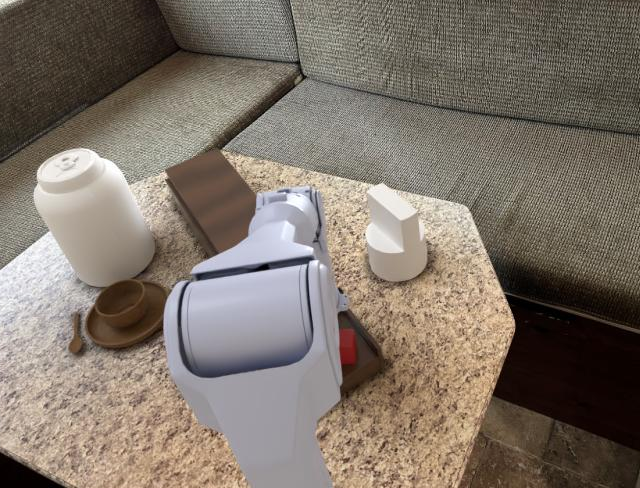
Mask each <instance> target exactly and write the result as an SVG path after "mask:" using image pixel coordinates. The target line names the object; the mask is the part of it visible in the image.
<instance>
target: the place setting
mask: <svg viewBox="0 0 640 488" xmlns="http://www.w3.org/2000/svg"><path fill="white" fill-rule="evenodd" d="M169 295H170V293H169V292H168V290H167V288H166V287H165V286H164V285H162V284H161V283H159V282H156V281H153V280H146V279H145V280H138V279H133V278H131V279H125V280H121V281H117V282H115V283H113V284H111V285H109V286H107V287H104V289H102V290H101V291H100V293H99V294H98V295H97V297H96V299H95V301H94V304H93V305H92V306H91V308H90V309H89V311H88V313H87V315H86V317H85V321H84V330H85V333H86V335H87V337H88V338H89V339H90V341H91V342H93V343H94V344H96V345H98V346H100V347H103V348H106V349H120V348H126V347H130V346H132V345H135V344H138V343H140V342H142V341H145V340H146V339H147V338H149V337H150V336H151V335H153V334H154V333H155V332H157V330H159V328H160V327H161V326H162V325H163V324H164V310H165V305H166V302H167V299H168V297H169ZM79 321H80V317H79V313H78V312H76V313H75V314H74V318H73V338H72V339H71V341H70V342H69V344H68V347H67V348H68V351H69V352H70V353H71V354H72V355H75V354H78V353H79V352H80V351H81V349H82V347H83V344H84V343H83V342H84V341H83V339H82V337H80V336H79Z"/></svg>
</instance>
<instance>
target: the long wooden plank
mask: <svg viewBox="0 0 640 488" xmlns="http://www.w3.org/2000/svg"><path fill="white" fill-rule="evenodd" d="M164 172H165V174H166V177H167V178H165V179H164V181H165V184H166V186H167V188H168V190H169V193H170V195H171V198H172V200H173V201H174V204H176V207H177V208H178V209H179V211H180V212H181V214H182V216H183V217H184V219H185V220H186V222H187V224H188V225H189V227H190V228H191V230H192V231H193V233H194V235H195V236H196V238H197V239H198V241H199V243H200V245H201V246H202V248H203V249H204V251H205V252H206V254H207V256H208V257H209V259H210V258H212V257H214V256H216V255H218V254H220V253H222V252H225V251H227V250H229V249H231V248H233V247H235V246H236V245H238V244H239V243H240V242H242V241H243V240H244V239H246V238H247V237H248V236H249V235H248V232H249V226H250V223H251V221H252V218H253V217H254V216H255V211H256V210H255V209H256V198H257V193H256V192H255V191H254V190H253V188H251V186H250V185H249V183H247V181H246V180H245V179H244V178H243V177H242V175H241V174H240V173H239V171H237V169H236V168H235V167H234V165H232V163H231V162H230V161H229V159H227V157H226V156H225V154H224V153H223V152H222V151H221V150H220V148H218V147H217V148H213V149H211V150H209V151H206V152H204V153H201V154H198V155H197V156H196V155H195V156H194V157H191V158H189V159H186V160H184V161H181V162H179V163H177V164H174V165H172V166H169V167H167V168H164ZM338 325H340V330H343V329H353V330H354V334H355V339H356V344H357V351H356V362H355V364H341V370H342V384H341V386H340V395H341V396H343V395H345V394H346V393H347V392H349V391H351V390H352V389H354V388H355V387H357V386H358V385H361V384H362V383H364V382H365V381H366V380H368V379H370V378H371V377H373V376H374V375H376V374H377V373H379V372H380V371H382V370H384V369H385V363H384V357H383V352H382V347H381V345H380V344H379V343H378V342H377V340H376V339H375V337H373V335H372V334H371V333H370V332H369V331H368V329H367V328H366V326H364V324H363V323H362V322H361V321H360V319H359V318H358V317H357V316H356V315H355V313H354V312H353V311H352V310H351V309H350V307H349V308H348V310H346V311H340V312H339V314H338ZM287 366H289V365H287ZM281 367H283V366H281Z"/></svg>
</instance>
